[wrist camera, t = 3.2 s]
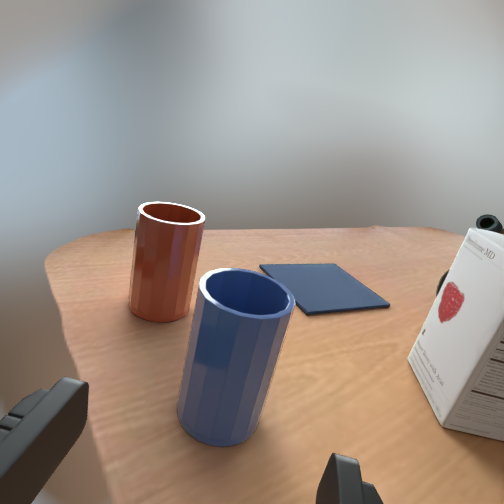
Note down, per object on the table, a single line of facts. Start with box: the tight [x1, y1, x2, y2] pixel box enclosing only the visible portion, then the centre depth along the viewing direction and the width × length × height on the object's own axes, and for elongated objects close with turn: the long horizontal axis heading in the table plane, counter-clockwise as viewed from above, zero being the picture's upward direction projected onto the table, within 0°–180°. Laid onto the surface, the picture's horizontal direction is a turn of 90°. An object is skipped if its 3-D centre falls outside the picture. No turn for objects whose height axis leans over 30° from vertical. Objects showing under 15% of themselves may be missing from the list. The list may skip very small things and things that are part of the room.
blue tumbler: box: [177, 268, 296, 447], centre depth 24 cm, size 6×6×10 cm
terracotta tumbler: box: [129, 202, 205, 322], centre depth 34 cm, size 6×6×10 cm
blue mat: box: [259, 264, 390, 315], centre depth 49 cm, size 14×12×1 cm
